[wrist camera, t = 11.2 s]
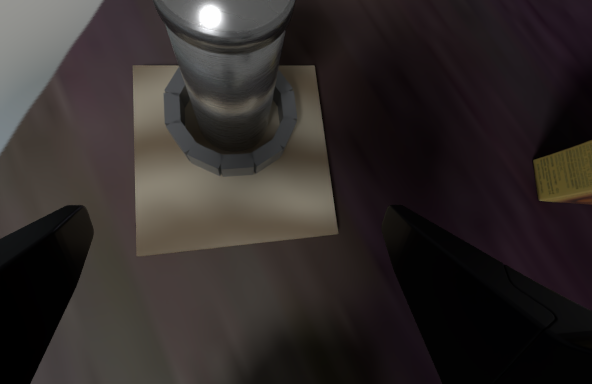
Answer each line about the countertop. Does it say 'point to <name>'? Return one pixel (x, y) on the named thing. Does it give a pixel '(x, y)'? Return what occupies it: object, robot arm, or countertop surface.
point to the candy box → (565, 175)
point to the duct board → (233, 189)
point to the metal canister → (228, 63)
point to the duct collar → (232, 163)
